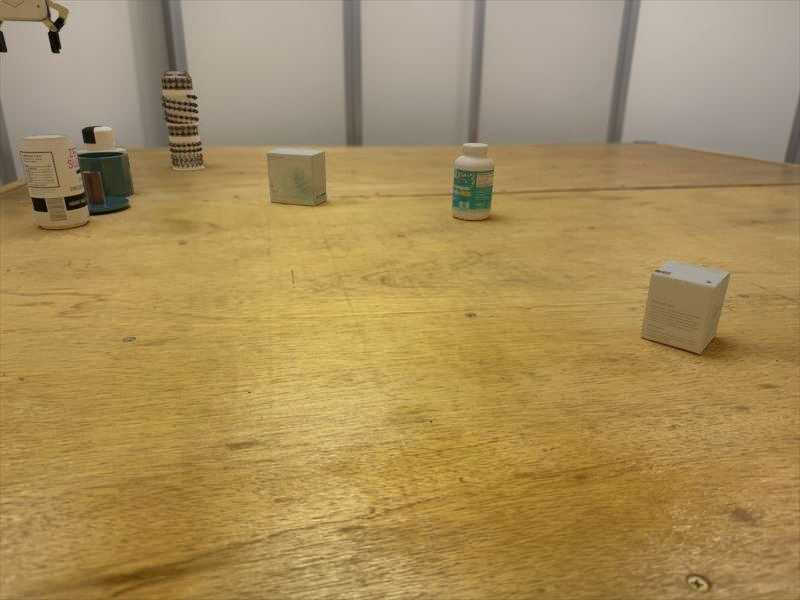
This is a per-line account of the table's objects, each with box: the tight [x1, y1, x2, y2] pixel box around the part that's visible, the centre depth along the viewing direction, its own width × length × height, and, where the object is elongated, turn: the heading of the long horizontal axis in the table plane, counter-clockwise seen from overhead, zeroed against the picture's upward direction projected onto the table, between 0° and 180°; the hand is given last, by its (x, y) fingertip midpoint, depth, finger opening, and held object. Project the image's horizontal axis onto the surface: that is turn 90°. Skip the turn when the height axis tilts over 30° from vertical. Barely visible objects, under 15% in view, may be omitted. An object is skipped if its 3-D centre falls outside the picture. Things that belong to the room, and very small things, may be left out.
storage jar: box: [77, 152, 135, 198], centre depth 119 cm, size 10×10×8 cm
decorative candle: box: [160, 70, 205, 172], centre depth 149 cm, size 9×9×25 cm
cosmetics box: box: [265, 147, 328, 207], centre depth 114 cm, size 10×6×10 cm, turn 71°
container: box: [76, 125, 127, 154], centre depth 130 cm, size 8×8×13 cm
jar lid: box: [82, 171, 131, 214], centre depth 107 cm, size 11×11×7 cm
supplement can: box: [17, 133, 91, 230], centre depth 94 cm, size 8×8×15 cm
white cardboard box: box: [640, 259, 731, 355], centre depth 57 cm, size 6×6×7 cm
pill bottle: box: [451, 142, 495, 221], centre depth 103 cm, size 8×7×14 cm
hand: (29, 52), depth 113 cm, fingers open, 9 cm apart
